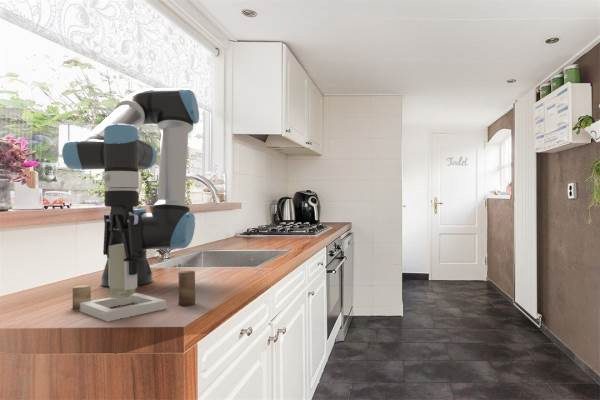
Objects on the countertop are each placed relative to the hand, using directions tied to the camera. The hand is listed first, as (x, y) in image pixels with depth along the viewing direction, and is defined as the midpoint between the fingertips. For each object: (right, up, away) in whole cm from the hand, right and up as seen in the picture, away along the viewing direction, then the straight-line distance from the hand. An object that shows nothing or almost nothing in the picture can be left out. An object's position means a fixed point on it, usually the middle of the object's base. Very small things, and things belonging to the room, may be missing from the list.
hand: (122, 286), depth 103 cm
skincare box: (0, -2, 0) cm, 2 cm away
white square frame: (0, -6, 0) cm, 6 cm away
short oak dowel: (-11, -6, +4) cm, 13 cm away
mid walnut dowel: (+14, -5, +5) cm, 16 cm away
